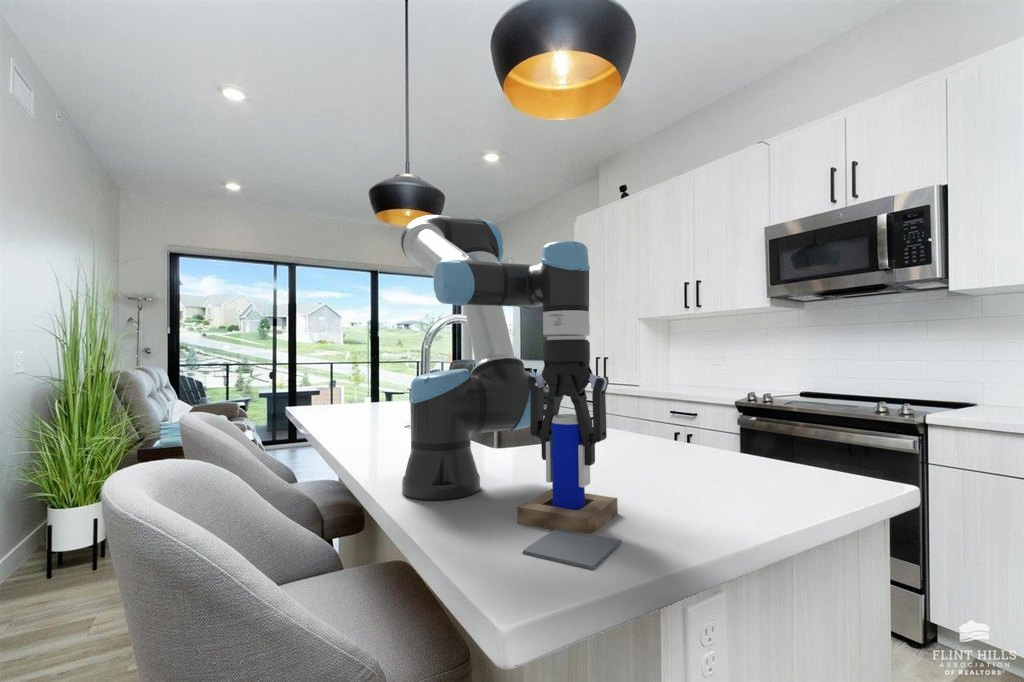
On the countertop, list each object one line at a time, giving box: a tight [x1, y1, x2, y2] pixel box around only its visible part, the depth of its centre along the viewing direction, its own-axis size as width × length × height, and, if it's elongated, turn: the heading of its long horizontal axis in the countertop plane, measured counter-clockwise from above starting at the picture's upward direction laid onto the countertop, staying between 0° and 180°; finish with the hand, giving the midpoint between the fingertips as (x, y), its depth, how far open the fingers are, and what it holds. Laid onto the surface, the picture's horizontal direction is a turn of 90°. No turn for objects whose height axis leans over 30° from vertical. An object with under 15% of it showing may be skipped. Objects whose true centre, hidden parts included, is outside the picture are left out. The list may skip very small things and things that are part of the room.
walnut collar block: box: [516, 488, 619, 534], centre depth 81 cm, size 12×12×2 cm
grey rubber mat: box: [522, 528, 622, 570], centre depth 68 cm, size 10×10×1 cm
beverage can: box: [551, 413, 586, 511], centre depth 81 cm, size 5×5×15 cm
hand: (568, 482), depth 81 cm, fingers closed on beverage can, 5 cm apart
